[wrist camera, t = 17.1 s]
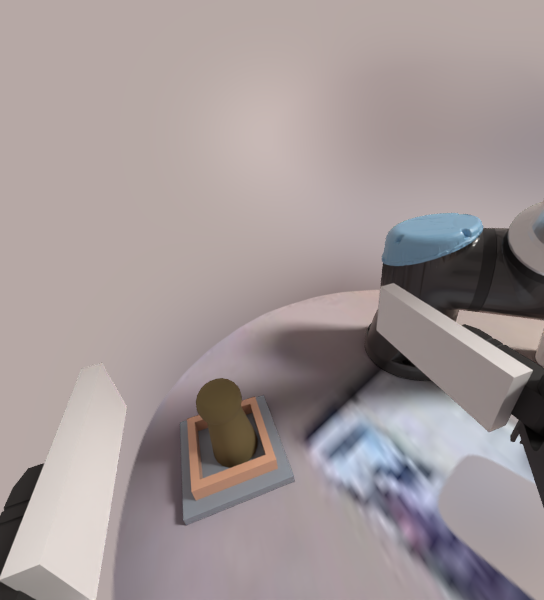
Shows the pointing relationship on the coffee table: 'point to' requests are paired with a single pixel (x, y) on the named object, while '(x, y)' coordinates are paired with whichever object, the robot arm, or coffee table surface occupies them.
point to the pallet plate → (230, 481)
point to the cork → (226, 422)
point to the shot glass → (540, 351)
